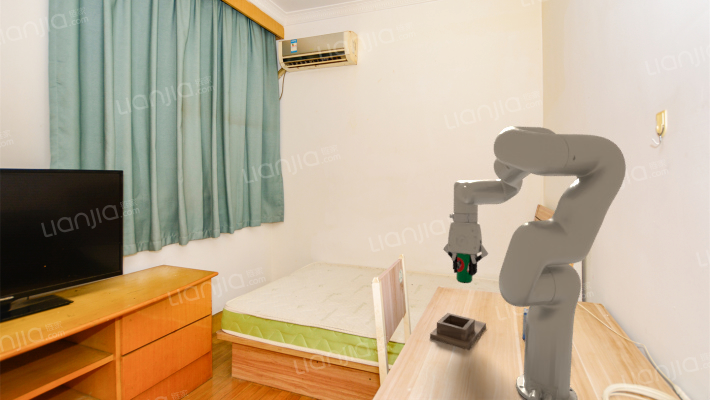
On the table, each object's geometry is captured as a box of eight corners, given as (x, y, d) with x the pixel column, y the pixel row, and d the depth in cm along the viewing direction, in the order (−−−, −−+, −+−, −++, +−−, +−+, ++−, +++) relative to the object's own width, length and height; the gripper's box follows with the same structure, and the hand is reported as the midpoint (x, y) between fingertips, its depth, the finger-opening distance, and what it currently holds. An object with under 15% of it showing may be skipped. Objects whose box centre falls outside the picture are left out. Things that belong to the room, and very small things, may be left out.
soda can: (470, 284, 110) (471, 247, 109) (454, 282, 113) (455, 246, 112) (473, 280, 115) (474, 244, 114) (458, 278, 117) (458, 243, 116)
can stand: (468, 349, 100) (468, 333, 100) (430, 338, 107) (430, 322, 107) (485, 327, 115) (486, 312, 114) (451, 318, 122) (451, 304, 121)
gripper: (436, 217, 114) (435, 271, 115) (488, 221, 104) (487, 280, 105) (445, 215, 120) (444, 267, 121) (495, 219, 110) (494, 275, 111)
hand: (464, 272), depth 113 cm, fingers closed on soda can, 4 cm apart
